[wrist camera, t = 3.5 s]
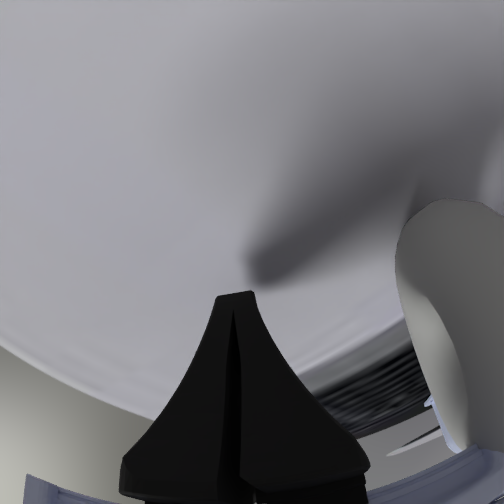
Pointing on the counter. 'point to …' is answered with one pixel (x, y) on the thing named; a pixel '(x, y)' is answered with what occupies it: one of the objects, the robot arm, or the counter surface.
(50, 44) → the counter surface
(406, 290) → the donut
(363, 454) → the robot arm
